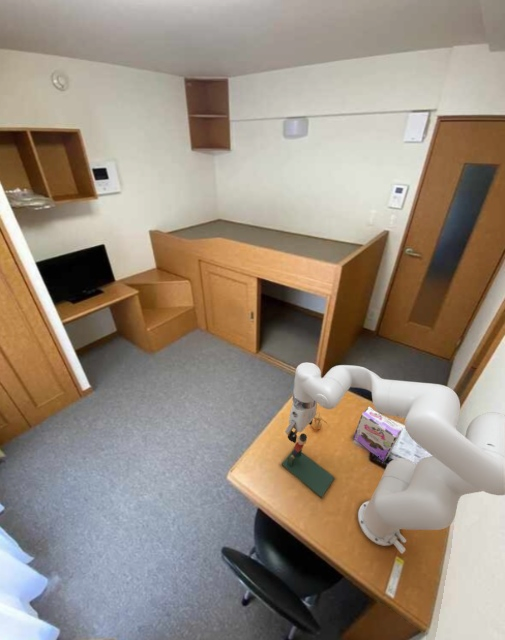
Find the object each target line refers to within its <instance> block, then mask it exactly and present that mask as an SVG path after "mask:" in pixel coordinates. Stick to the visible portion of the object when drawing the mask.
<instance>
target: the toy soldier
mask: <svg viewBox="0 0 505 640" xmlns="http://www.w3.org/2000/svg"><path fill="white" fill-rule="evenodd" d="M307 440H308V435H306V434H305V433H302V432H301V433H300V435H298V436H297V439H296V443H294V446H293V449H292V451H293V452H292V451H291V452H292V456H291V458H293V459H294V458H295V457H296V456H297V455H298V454H299V452H300V450H301V449H302V450H303V447H304V446H305V445H306V444H307Z"/></svg>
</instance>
